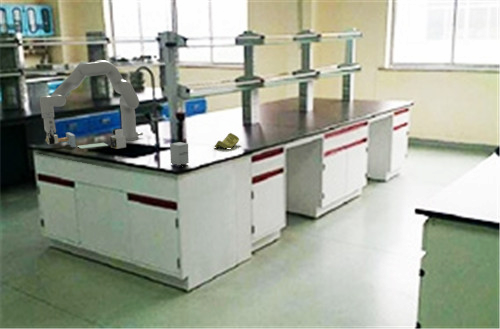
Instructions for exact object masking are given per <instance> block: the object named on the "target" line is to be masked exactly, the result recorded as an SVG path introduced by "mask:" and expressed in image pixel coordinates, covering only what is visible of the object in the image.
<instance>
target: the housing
mask: <svg viewBox="0 0 500 329" xmlns="http://www.w3.org/2000/svg"><path fill="white" fill-rule="evenodd" d="M66 137H68V138H69V141H66V145H67V146H70V147H71V148H77V144H76V135H75V134H74V133H72V132H65V138H66Z"/></svg>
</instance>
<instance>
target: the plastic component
mask: <svg viewBox="0 0 500 329" xmlns="http://www.w3.org/2000/svg"><path fill="white" fill-rule="evenodd" d="M239 141H240V138H239V137H238V136H237V135H236V134H234V133H231V132H229V133H228V134H227V136H226V137H224V139H223V140H222V141H221V140H218V141H217V142H216V143H215V145H214V147H217V148H219V147H220V148H223V149H225V148H231V149H232V147H233V146H234V147H236V145H237V144H238V142H239ZM218 146H219V147H218ZM234 147H233V148H234Z"/></svg>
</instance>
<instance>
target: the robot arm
mask: <svg viewBox="0 0 500 329" xmlns="http://www.w3.org/2000/svg"><path fill="white" fill-rule="evenodd" d="M102 75H105V76H106V77H107V78H108V80H109V82H110V83H111V86H112V87H113V88H112V89H113V90H114V91H115V93H117V94H119V95H120V97H119V99H118V100H119V102H118V103H119V106H120V115H121V116H120V117H121V129H122V132H123V135H122V136H125V137H126V141H136V139H137V140H139V139H138V138H139V136H143V135H144V133H143V132H138V131H137V124H136V123H137V122H136V120H137V119H136V111H135V109H137V108H138V107H139V105H140V99H139V97H138V95H137V92H136V91H135V89H134V87H133V85H132V84H131V83H130V81H128V80H125V79H124V78H123V76H122V74H121V72H120V71H119V69H118V68H117V67H116V65H115V64H114V63H112V62H110V61H108V60H104V59H103V60H102V59H97V60H95V61H94V62H80V63H78V65H77V66H76V67H75V68H74V70H72V72H70V74H69V76H68V77H67V78H66V79H65V80H64V81H62V83H61V84H60V85H58V87H57V88H56V89H55V90H54V91H53V92H52V93H51V95H47V94H46V95H41V96H40V97H39V104H40V105H39V106H40V112H41V119H43V126H44V132H45V133H46V136H48V135H49V143H50V144H49V145H54V144H55V139H54V135H55V133H56V132H57V129H56V122H55V110H54V107H58V108H59V107H63V106H65V105H66V104H67V98H66V96H67V95H68V94H69V93H70V92H72V91H74V90H76V89H78V87H80V86H81V84H82V83H83V82H84V80H85V79H86V78H87V77H94V76H102ZM55 145H56V144H55Z"/></svg>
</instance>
